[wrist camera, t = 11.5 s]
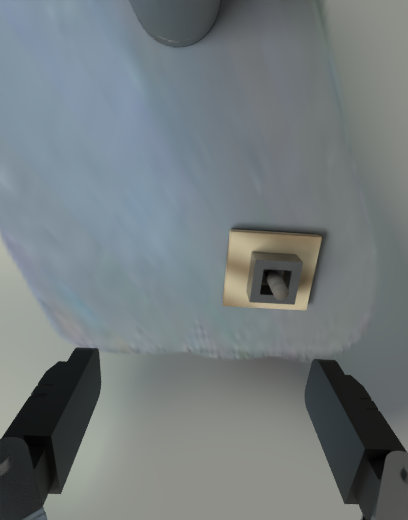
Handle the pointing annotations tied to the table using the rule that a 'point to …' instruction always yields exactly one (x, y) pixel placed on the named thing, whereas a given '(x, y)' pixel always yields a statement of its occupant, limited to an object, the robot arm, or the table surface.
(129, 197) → the table surface
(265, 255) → the link
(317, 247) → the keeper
